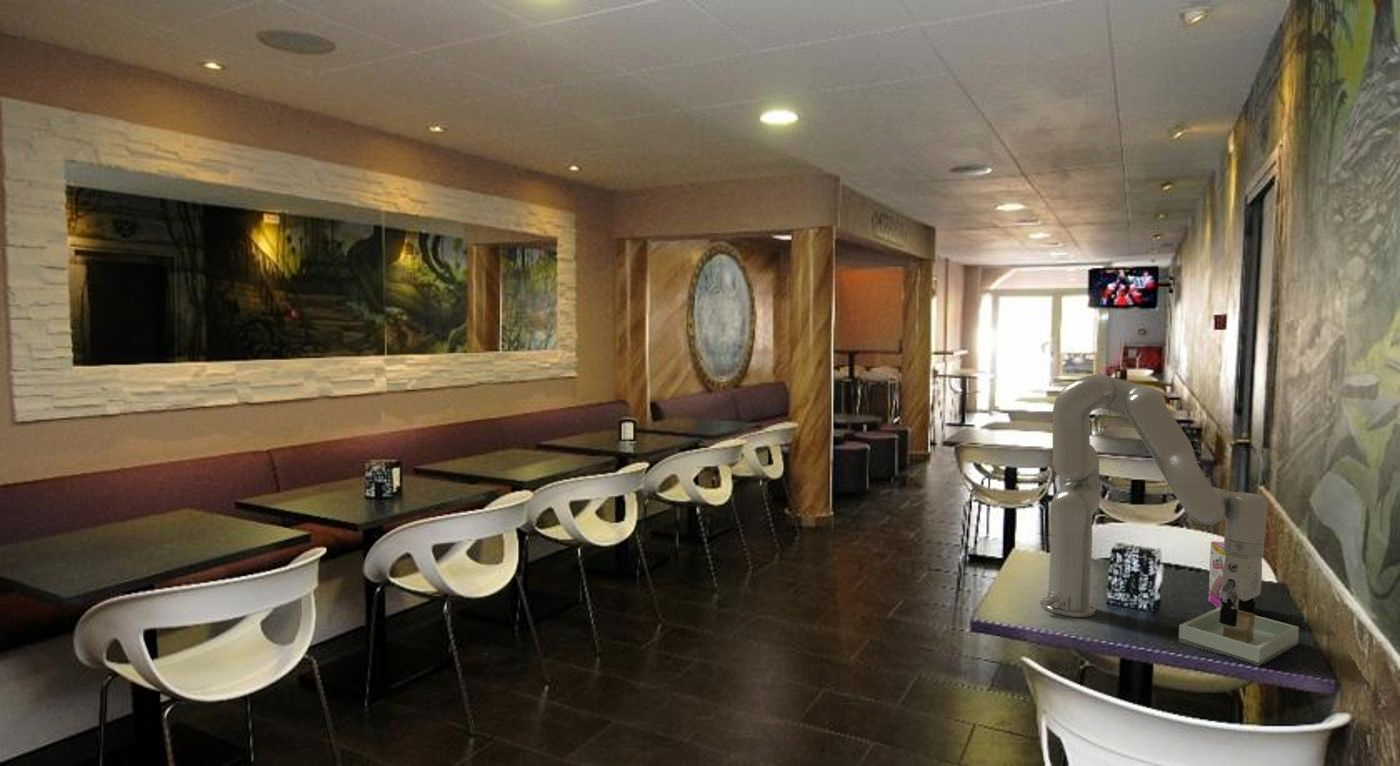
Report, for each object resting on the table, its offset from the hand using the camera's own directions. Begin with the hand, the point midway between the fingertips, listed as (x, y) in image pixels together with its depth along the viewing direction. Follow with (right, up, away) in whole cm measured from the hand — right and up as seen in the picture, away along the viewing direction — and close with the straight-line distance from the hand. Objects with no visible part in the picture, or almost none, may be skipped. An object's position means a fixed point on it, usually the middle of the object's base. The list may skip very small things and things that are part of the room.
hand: (1236, 620), depth 183 cm
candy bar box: (+12, -4, +22) cm, 25 cm away
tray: (0, -5, 0) cm, 5 cm away
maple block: (0, -4, 0) cm, 4 cm away
